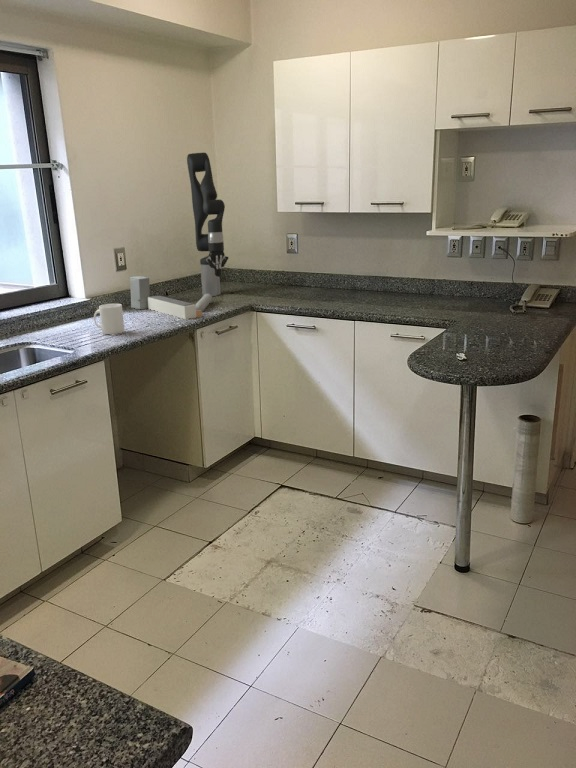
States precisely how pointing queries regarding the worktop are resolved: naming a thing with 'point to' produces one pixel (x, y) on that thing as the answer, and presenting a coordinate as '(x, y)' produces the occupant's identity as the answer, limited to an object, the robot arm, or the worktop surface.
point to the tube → (203, 302)
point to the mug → (110, 318)
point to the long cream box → (173, 307)
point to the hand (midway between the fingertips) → (218, 276)
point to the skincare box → (139, 292)
